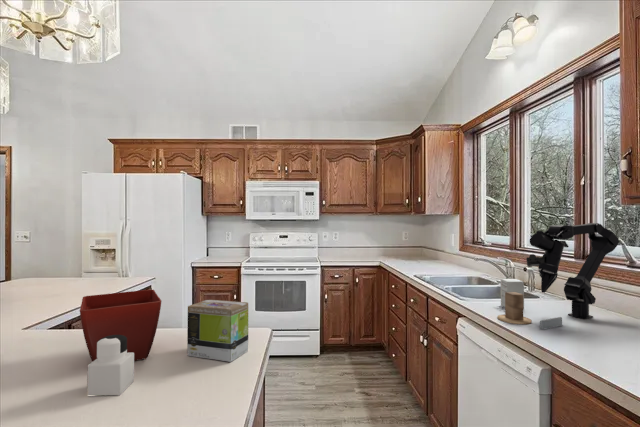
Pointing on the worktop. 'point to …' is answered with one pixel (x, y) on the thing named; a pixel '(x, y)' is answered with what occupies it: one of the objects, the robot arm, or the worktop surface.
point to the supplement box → (511, 288)
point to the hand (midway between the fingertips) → (542, 291)
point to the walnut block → (514, 305)
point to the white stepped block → (111, 367)
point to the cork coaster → (504, 319)
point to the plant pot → (121, 320)
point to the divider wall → (551, 323)
